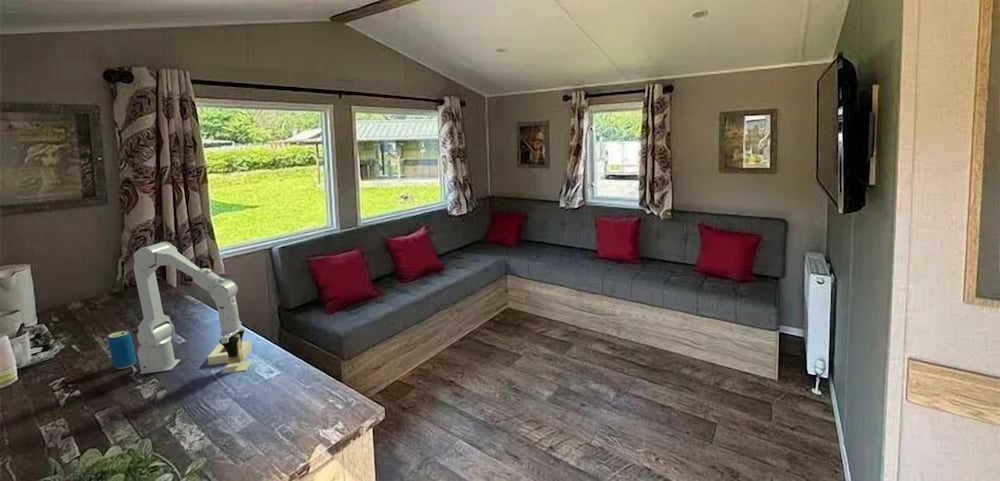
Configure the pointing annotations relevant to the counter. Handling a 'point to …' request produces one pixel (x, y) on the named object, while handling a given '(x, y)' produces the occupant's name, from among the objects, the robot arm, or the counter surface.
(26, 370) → the counter surface
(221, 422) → the counter surface
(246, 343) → the cream square frame
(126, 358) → the beverage can
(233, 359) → the wood grain block
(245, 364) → the rubber mat
